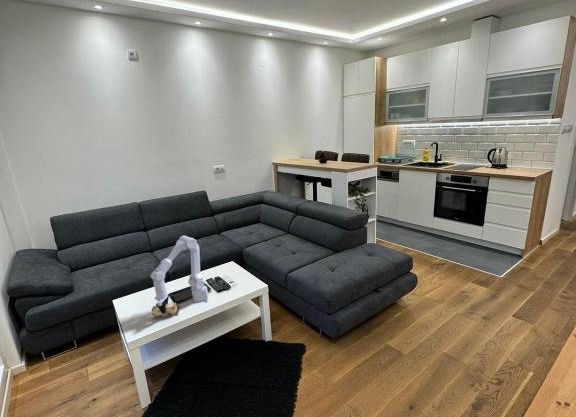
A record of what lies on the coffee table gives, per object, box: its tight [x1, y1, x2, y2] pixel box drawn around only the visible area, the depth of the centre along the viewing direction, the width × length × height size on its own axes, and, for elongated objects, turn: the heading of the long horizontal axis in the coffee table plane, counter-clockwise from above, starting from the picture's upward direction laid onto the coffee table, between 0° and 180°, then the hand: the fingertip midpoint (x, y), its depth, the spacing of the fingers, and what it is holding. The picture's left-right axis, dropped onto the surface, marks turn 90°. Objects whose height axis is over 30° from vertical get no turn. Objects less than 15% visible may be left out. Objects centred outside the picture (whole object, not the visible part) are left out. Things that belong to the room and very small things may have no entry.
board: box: [152, 305, 181, 321], centre depth 185 cm, size 14×11×1 cm
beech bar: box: [151, 302, 178, 317], centre depth 180 cm, size 13×4×4 cm, turn 100°
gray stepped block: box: [161, 313, 171, 319], centre depth 181 cm, size 5×4×2 cm
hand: (164, 310), depth 180 cm, fingers open, 5 cm apart
